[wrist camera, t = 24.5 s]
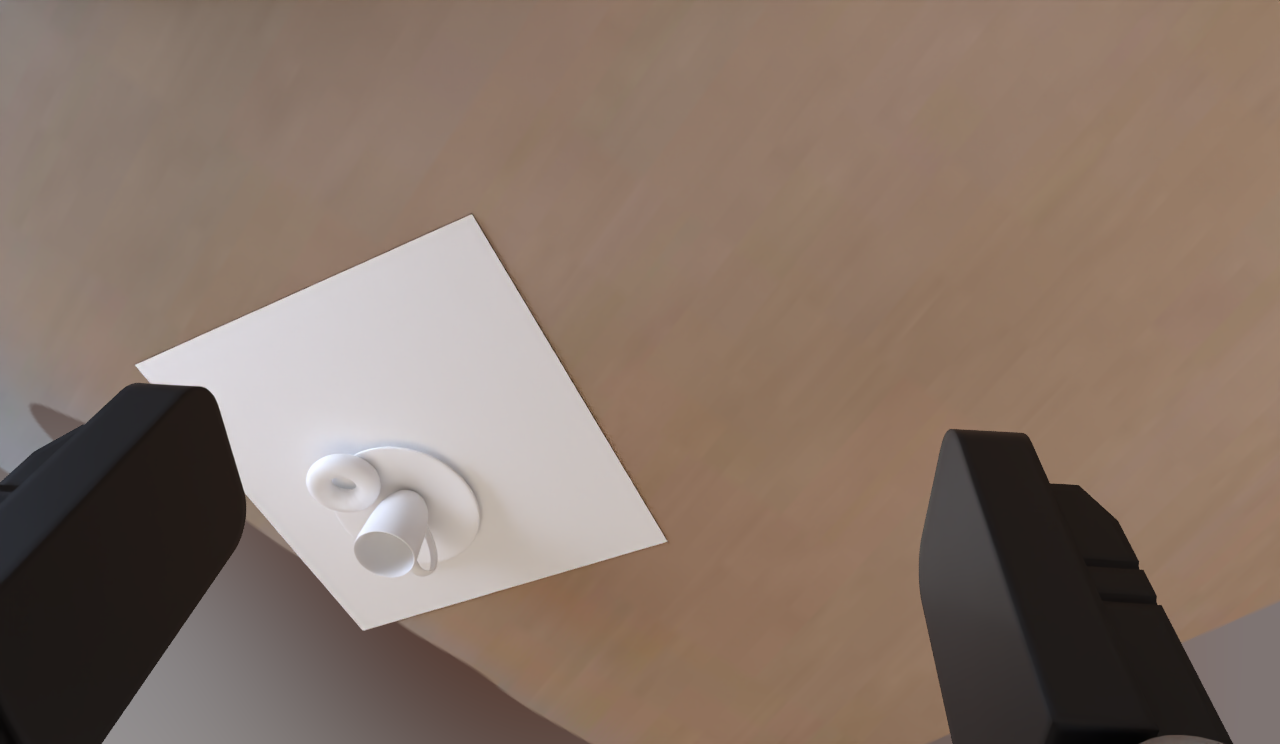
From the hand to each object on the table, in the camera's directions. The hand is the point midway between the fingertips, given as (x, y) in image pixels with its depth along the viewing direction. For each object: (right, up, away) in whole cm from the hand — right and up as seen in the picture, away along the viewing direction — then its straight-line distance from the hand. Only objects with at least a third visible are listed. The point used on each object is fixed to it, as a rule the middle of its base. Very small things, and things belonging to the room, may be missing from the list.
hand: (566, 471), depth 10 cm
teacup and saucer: (-11, -3, +37) cm, 38 cm away
